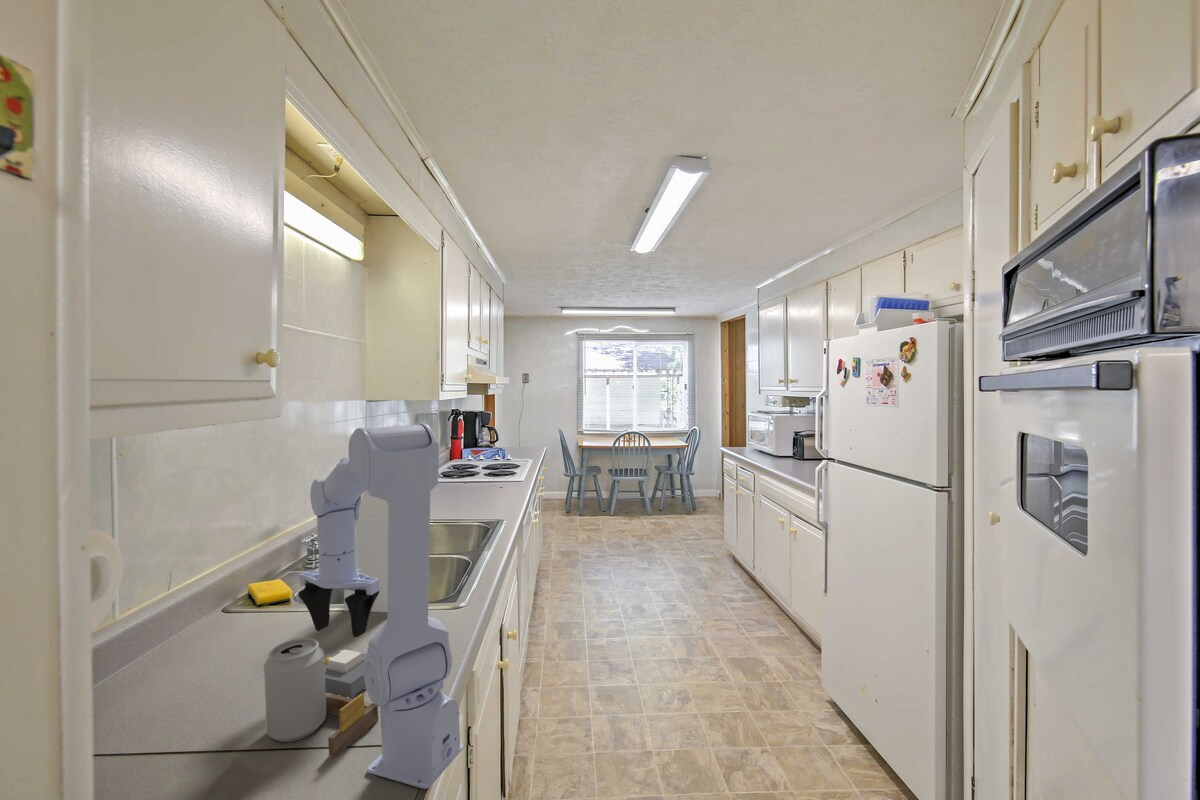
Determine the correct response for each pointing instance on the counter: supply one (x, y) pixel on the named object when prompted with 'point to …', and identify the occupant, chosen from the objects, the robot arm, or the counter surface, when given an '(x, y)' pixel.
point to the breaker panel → (345, 679)
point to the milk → (373, 547)
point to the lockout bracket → (349, 720)
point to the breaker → (345, 661)
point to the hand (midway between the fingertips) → (340, 631)
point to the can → (295, 689)
